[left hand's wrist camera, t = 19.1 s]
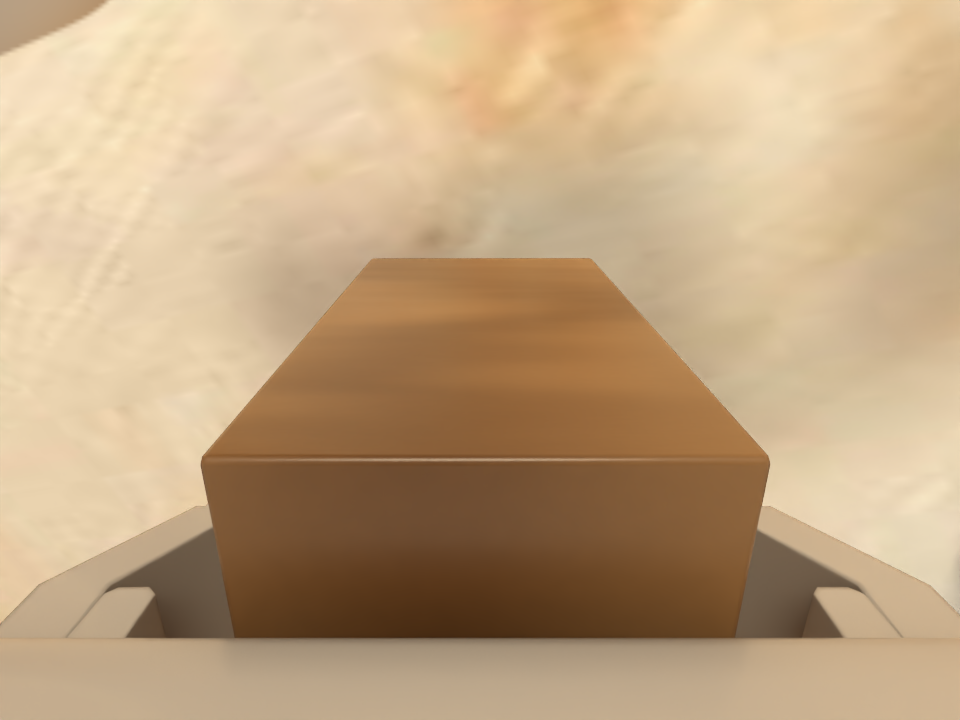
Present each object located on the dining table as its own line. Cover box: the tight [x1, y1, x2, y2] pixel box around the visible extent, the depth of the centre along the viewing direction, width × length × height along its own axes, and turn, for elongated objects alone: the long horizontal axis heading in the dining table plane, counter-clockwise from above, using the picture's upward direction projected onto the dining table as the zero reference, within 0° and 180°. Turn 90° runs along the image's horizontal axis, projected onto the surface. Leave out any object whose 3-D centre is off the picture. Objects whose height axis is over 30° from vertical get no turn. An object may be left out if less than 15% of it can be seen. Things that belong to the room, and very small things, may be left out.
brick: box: [201, 258, 770, 638], centre depth 10 cm, size 5×6×9 cm
